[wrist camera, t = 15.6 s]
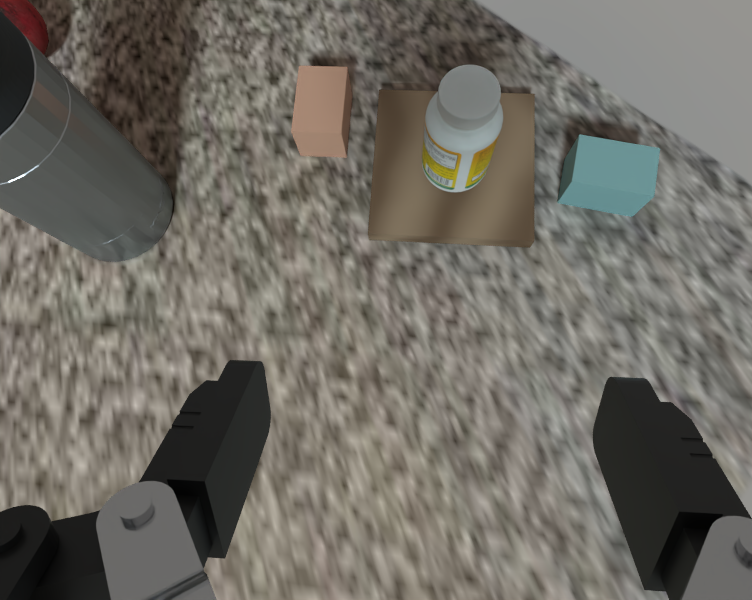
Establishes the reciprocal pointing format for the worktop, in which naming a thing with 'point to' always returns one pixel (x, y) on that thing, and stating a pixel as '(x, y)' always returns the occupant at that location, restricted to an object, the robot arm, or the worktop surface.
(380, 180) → the walnut board
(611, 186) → the teal block
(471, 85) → the supplement bottle
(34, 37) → the onion
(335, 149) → the terracotta block
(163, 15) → the worktop surface
